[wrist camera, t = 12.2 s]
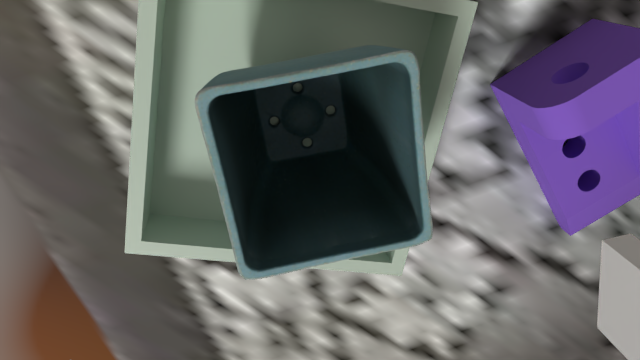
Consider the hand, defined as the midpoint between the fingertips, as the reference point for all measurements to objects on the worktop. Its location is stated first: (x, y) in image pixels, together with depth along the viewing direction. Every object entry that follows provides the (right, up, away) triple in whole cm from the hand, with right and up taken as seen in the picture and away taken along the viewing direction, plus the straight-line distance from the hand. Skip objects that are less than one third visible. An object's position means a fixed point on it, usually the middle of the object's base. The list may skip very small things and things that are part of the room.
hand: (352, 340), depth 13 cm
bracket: (+15, +7, +21) cm, 27 cm away
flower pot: (-2, +8, +17) cm, 19 cm away
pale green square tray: (-3, +8, +18) cm, 20 cm away
